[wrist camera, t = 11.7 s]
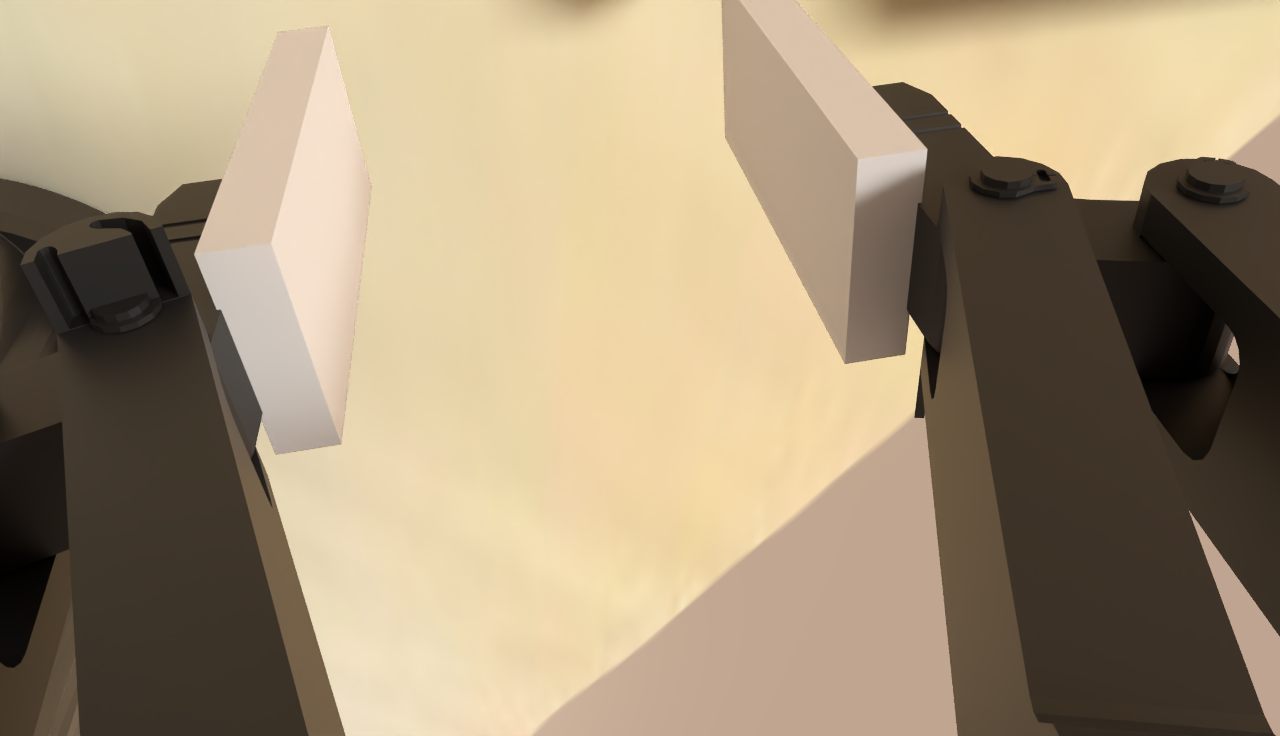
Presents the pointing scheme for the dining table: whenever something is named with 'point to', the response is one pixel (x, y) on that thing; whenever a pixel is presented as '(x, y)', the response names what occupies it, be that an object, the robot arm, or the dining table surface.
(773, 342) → the dining table surface
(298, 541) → the dining table surface
